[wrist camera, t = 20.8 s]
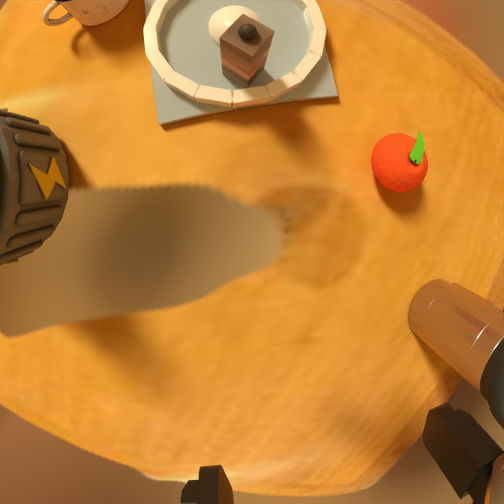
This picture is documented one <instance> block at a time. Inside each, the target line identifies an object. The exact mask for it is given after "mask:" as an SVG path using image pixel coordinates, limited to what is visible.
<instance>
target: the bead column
mask: <svg viewBox="0 0 504 504" xmlns="http://www.w3.org/2000/svg"><path fill="white" fill-rule="evenodd" d="M274 32H275V31H274V30H272V29H270V28H269V27H267V26H265V25H263V24H261V23H260V22H258V21H256V20H254V19H252V18H250V17H248V16H247V15H245V14H242V15H241V16H240V17H239V18H238V19H237V20H236V21H235V22H234V23H233V24H232V25H231V26H230V27H229V28H228V29H227V30H226V31H225V32H224V33H223V34H222V35H221V37H220V38H219V39H220V51H221V62H222V74H223V75H224V76H226V77H228V78H230V79H231V80H233V81H235V82H236V83H238V84H239V85H241V86H243V87H244V88H248V87H249V86H250V85H251V84H252V82H253V81H254V80H255V79H256V78H257V76H258V75H259V74H260V73H261V71H262V70H263V69H264V67H265V63H266V60H267V56H268V53H269V49H270V46H271V42H272V39H273V36H274Z"/></svg>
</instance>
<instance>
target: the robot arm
mask: <svg viewBox="0 0 504 504" xmlns="http://www.w3.org/2000/svg"><path fill="white" fill-rule="evenodd" d="M408 321H409V326H410V328H411V330H412V332H414V333H415V334H416V335H417V336H418V337H419V338H420V339H421V340H422V341H424V342H425V343H426V344H427V345H428V346H429V347H430V348H431V349H432V350H433V351H435V352H436V353H437V354H438V355H439V356H440V357H441V358H442V359H443V360H444V361H446V362H447V363H448V364H449V365H450V366H451V367H452V368H453V369H454V370H455V371H456V372H458V373H459V374H460V375H461V376H462V377H463V378H464V379H465V380H466V381H467V382H468V383H469V384H471V385H472V386H473V387H474V388H475V389H476V390H477V391H478V392H479V393H480V394H481V395H482V396H483V397H484V398H485V399H486V400H487V401H488V404H489V407H490V410H491V412H492V414H493V416H494V418H495V419H496V420H497V422H498V423H499V424H500V425H501V426H502V427H503V429H504V312H502V311H501V310H499V309H497V308H495V307H494V304H493V303H492V302H490V301H488V300H487V299H485V298H483V297H481V296H479V295H477V294H475V293H473V292H471V291H469V290H468V289H466V288H464V287H462V286H460V285H458V284H456V283H453V284H451V283H449V282H447V281H444V280H434V281H431V282H429V283H427V284H426V285H425V286H423V287H422V288H421V289H420V290H419V292H418V293H417V294H416V296H415V297H414V299H413V301H412V303H411V306H410V309H409V315H408ZM423 441H424V444H425V446H426V448H427V450H428V451H429V452H430V454H431V455H432V457H433V458H434V460H435V461H436V463H437V464H438V466H439V467H440V469H441V470H442V472H443V473H444V475H445V476H446V478H447V479H448V481H449V482H450V484H451V485H452V487H453V489H454V490H455V492H456V493H457V495H458V496H459V498H460V499H462V498H463V497H465V496H466V495H468V494H469V495H470V496H471V500H470V504H504V451H503V450H502V449H501V448H500V447H499V446H498V445H497V444H496V442H495V441H494V440H493V439H492V438H491V437H490V436H489V435H488V433H487V432H486V431H485V430H484V429H482V427H481V426H480V425H479V424H478V423H477V422H476V420H475V419H474V418H473V417H472V416H471V415H470V414H469V413H467V412H465V411H463V410H461V409H458V410H457V411H455V410H454V409H453V408H452V407H451V406H450V405H449V404H448V403H444V404H442V405H440V406H438V407H435V408H433V409H431V410H429V412H428V415H427V419H426V424H425V428H424V432H423ZM181 504H234V503H233V492H232V487H231V485H230V482H229V480H228V478H227V476H226V474H225V472H224V470H223V468H222V466H221V465H215V466H202V467H200V470H199V480H189V481H188V482H187V484H186V485H185V487H184V488H183V490H182V495H181Z"/></svg>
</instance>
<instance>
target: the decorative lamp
mask: <svg viewBox="0 0 504 504" xmlns="http://www.w3.org/2000/svg"><path fill="white" fill-rule="evenodd" d="M69 178H70V177H69V171H68V164H67V157H66V154H65V152H64V150H63V147H62V145H61V143H60V140H59V139H58V138H57V137H56V136H55V135H54V134H53V133H52V132H51V130H50V129H49V128H48V127H46V126H43V125H39V121H38V120H36V119H33V118H30V117H26V116H22V115H18V114H15V113H11V112H7V108H6V109H0V265H3V264H8V263H13V262H18V258H19V257H22V256H24V255H27V254H29V253H31V252H33V251H34V250H35V249H37V248H39V247H40V246H41V245H42V244H43V242H44V241H45V240H46V239H47V238H49V237H50V236H51V235H52V233H53V232H54V230H55V229H56V227H57V225H58V224H59V222H60V220H61V219H62V216H63V212H64V209H65V206H66V203H67V200H68V189H69Z"/></svg>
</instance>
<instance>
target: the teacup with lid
mask: <svg viewBox="0 0 504 504" xmlns="http://www.w3.org/2000/svg"><path fill="white" fill-rule="evenodd" d="M128 2H129V0H54V1H53V2H52V3H50V4H49V5H48V6H47V7H46V9H45V10H44V12H43V15H42V19H43V21H44V23H45V24H47V25H49V26H58V25H61V24H63V23H65V22H67V21H68V20H70V19H71V18H72V17H74V18H75V19H76V20H77V21H78V22H80V23H81V24H83V25H88V26H93V25H98V24H102V23H104V22H107V21H109V20H110V19H112V18H114V17H115V16H116V15H118V14H119V13H120V12H121V11H122V10H123V9H124V8H125V6H126V5H127V4H128ZM59 4H61V5H62V6H63V7H64V8H65V9H66V10H67V11H68V13H67V14H66V15H64V16H63V17H61V18H59V19H49V18H48V16H49V14H50V13H51V11H52V10H53V9H54V8H56V7H57V6H58V5H59Z"/></svg>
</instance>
